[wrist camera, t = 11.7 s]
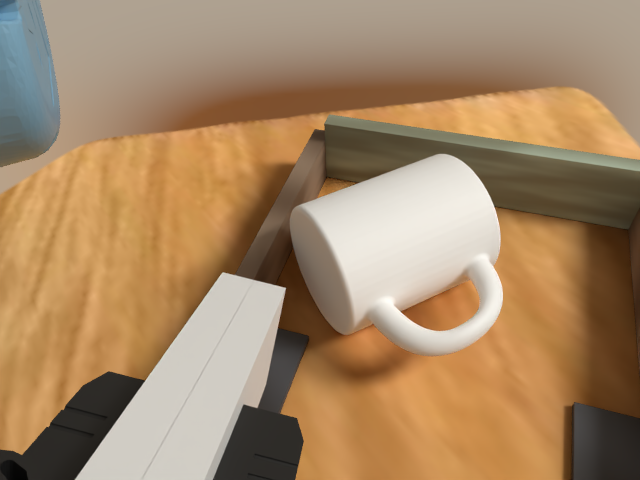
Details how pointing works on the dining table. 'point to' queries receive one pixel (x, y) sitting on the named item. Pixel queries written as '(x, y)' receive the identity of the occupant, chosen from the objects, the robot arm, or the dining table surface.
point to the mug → (402, 252)
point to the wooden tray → (505, 191)
